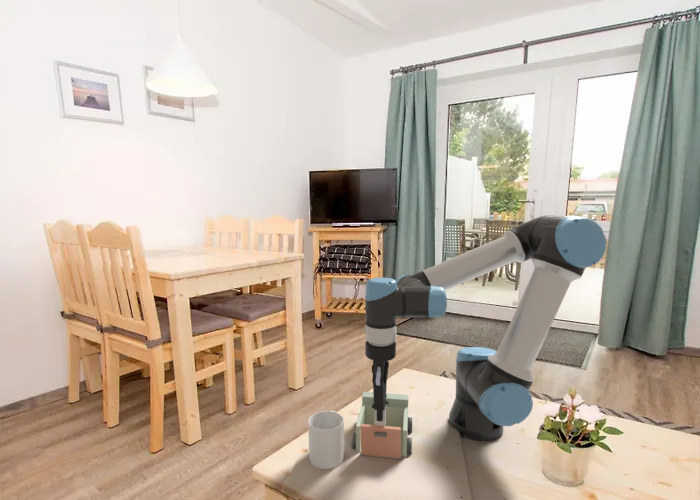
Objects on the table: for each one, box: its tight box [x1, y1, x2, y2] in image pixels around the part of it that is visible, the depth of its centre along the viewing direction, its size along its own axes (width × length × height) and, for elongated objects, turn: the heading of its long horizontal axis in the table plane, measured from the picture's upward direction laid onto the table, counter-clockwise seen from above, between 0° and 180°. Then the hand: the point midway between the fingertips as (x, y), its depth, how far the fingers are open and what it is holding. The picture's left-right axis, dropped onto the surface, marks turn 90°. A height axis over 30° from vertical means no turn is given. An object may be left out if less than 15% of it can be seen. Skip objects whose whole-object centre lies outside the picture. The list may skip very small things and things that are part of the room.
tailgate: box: [359, 424, 403, 461], centre depth 98 cm, size 10×2×9 cm, turn 80°
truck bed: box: [351, 391, 413, 458], centre depth 107 cm, size 15×15×10 cm
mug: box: [307, 410, 345, 470], centre depth 100 cm, size 12×9×11 cm
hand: (380, 430), depth 99 cm, fingers closed
